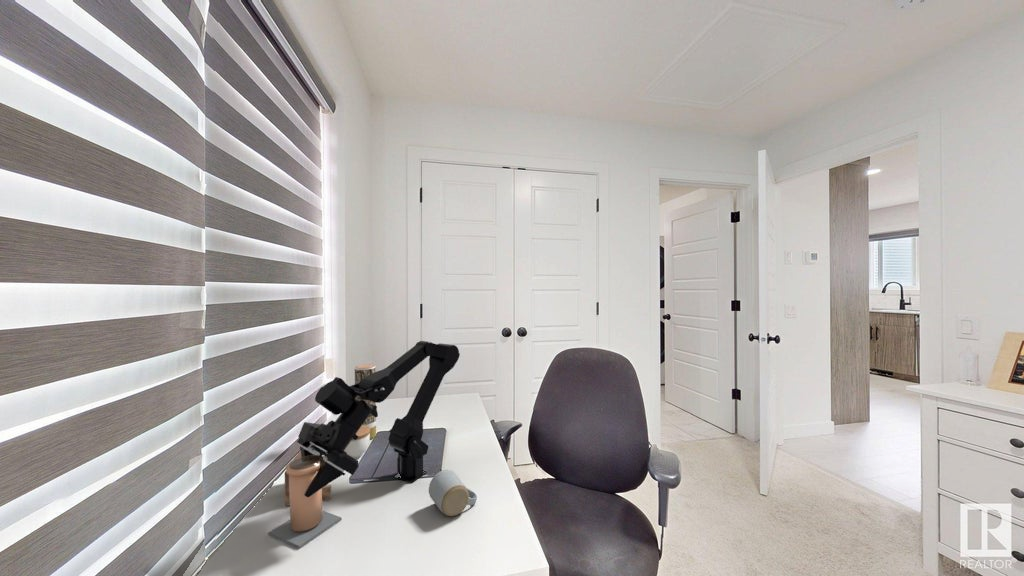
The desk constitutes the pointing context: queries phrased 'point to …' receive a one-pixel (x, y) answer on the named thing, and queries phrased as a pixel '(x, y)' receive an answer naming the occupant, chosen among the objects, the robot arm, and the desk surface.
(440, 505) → the ceramic mug
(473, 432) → the desk surface
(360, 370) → the bark log
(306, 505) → the terracotta pot
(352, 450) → the lidded jar
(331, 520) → the slate mat
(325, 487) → the light wood arch piece
